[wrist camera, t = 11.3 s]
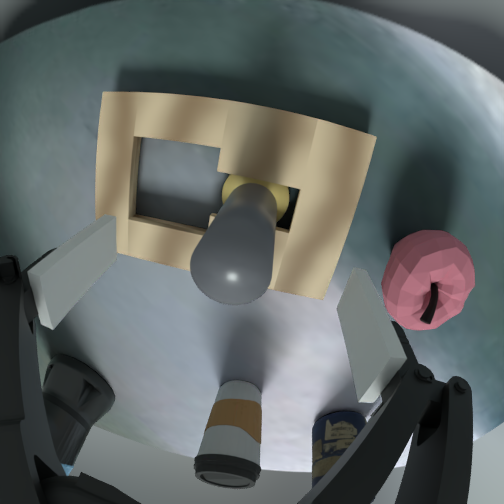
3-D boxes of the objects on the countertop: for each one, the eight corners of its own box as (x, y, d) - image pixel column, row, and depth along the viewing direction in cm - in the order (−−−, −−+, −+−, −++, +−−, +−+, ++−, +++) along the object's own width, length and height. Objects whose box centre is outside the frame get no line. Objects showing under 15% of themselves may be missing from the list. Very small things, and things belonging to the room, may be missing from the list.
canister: (365, 402, 39) (379, 502, 23) (365, 427, 42) (375, 512, 26) (307, 412, 41) (306, 512, 25) (315, 436, 45) (315, 521, 29)
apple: (423, 294, 29) (457, 353, 20) (358, 286, 30) (380, 352, 21) (451, 217, 25) (504, 262, 16) (382, 201, 25) (427, 246, 16)
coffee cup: (202, 380, 39) (176, 468, 26) (252, 369, 37) (237, 469, 23) (230, 409, 42) (215, 489, 29) (277, 400, 40) (271, 488, 26)
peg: (219, 217, 28) (168, 304, 15) (230, 156, 25) (175, 199, 12) (280, 230, 28) (276, 330, 15) (295, 170, 25) (308, 228, 12)
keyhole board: (108, 237, 30) (96, 247, 28) (117, 92, 23) (103, 91, 20) (320, 285, 30) (322, 300, 28) (367, 134, 23) (376, 137, 20)
